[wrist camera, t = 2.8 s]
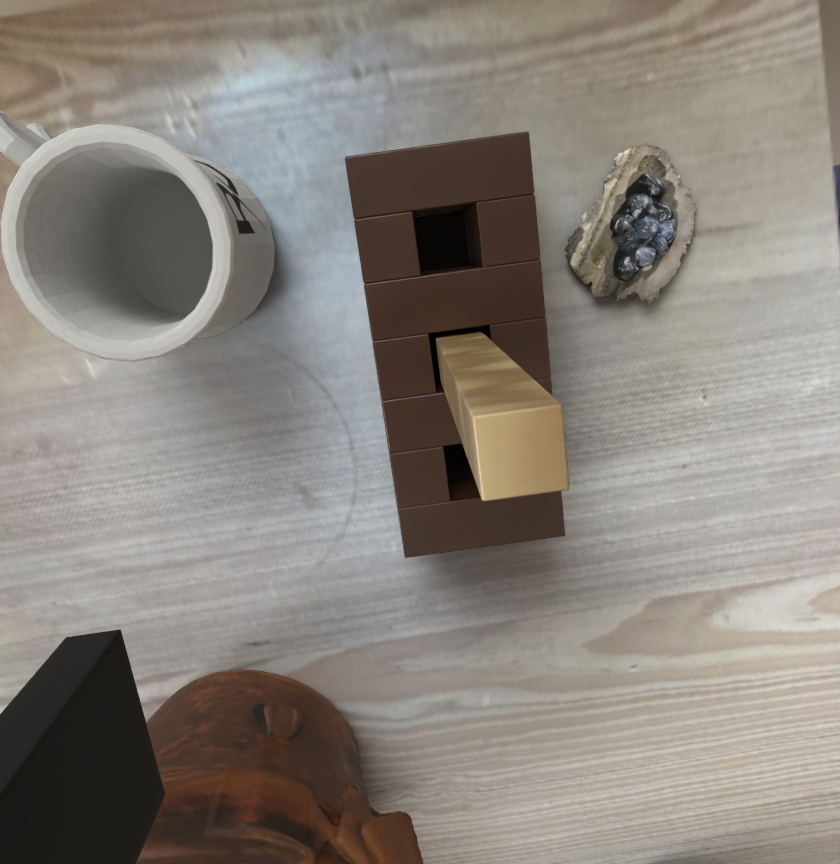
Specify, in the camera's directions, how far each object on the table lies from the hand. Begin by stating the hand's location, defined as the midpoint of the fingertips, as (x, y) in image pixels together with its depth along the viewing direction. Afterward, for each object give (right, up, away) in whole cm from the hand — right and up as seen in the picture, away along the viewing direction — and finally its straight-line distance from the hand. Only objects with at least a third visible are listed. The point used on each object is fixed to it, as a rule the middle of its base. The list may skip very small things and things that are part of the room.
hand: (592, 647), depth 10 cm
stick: (-1, +8, +29) cm, 30 cm away
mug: (-16, +14, +27) cm, 34 cm away
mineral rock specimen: (+9, +14, +27) cm, 32 cm away
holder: (-1, +8, +29) cm, 30 cm away
